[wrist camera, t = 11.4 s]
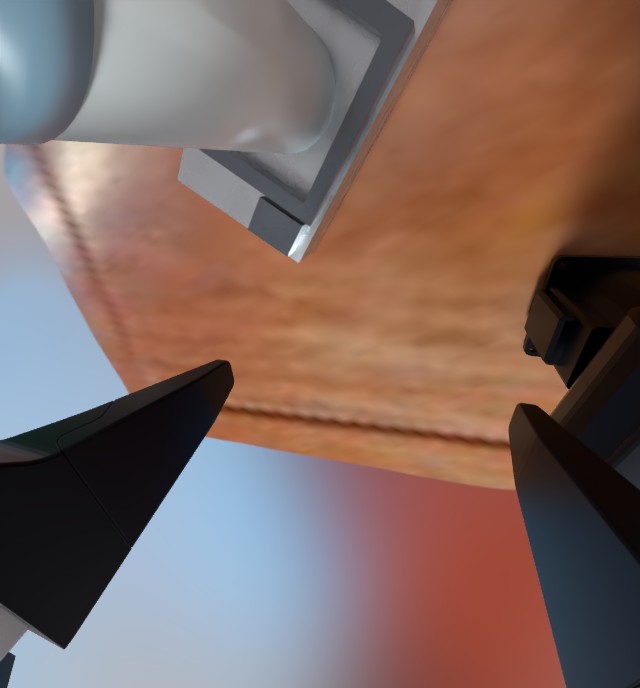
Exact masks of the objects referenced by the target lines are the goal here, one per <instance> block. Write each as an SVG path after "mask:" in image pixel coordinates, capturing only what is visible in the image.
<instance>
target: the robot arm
mask: <svg viewBox="0 0 640 688" xmlns="http://www.w3.org/2000/svg"><path fill="white" fill-rule="evenodd" d="M563 261H567V264H566V266H564V267H563V268H558V265H559V264H560V263H561V262H563ZM525 330H526V332H527V336H526V339H525V342H524V345H523V349H524V351H525V353H526V354H527V355H530V356H538V357H541V358H542V360H543V361H544V362H545V363H546V364H547V365H553V366H554V367H555V369H556V370H557V372H558V374H559V375H560V377H561V379H562V380H563V382H564V384H565V385H566V387H567V388H568V389H569V391H568V392H567V393H566V395H565V396H564V397H563V399H562V400H561V401H560V403H559V404H558V405H557V407H556V408H555V409H554V411H553V412H552V413H551V415H550V416H549V415H548V414H547V413H546V412H544V411H543V410H542V409H541V408H539V407H538V406H536V405H533V404H526V403H519V404H518V405H517V406H516V408H515V411H514V413H513V416H512V419H511V422H510V424H509V440H510V448H511V456H512V465H513V473H514V480H515V486H516V491H517V495H518V499H519V503H520V507H521V511H522V515H523V518H524V523H525V526H526V531H527V534H528V538H529V542H530V546H531V550H532V554H533V558H534V562H535V566H536V570H537V574H538V578H539V582H540V586H541V590H542V593H543V597H544V601H545V605H546V609H547V613H548V617H549V621H550V625H551V629H552V633H553V637H554V641H555V645H556V649H557V653H558V657H559V660H560V664H561V668H562V672H563V676H564V680H565V684H566V688H640V256H604V255H560V256H558V257H556V258H555V259H554V260H553V261H552V263H551V265H550V268H549V271H548V274H547V277H546V280H545V283H544V286H543V289H541V290H539V291H538V292H537V293H536V294H535V297H534V300H533V303H532V306H531V309H530V312H529V315H528V319H527V322H526V325H525ZM532 346H535V349H533V350H530V349H529V348H530V347H532ZM233 385H234V377H233V373H232V368H231V365H230V363H229V361H226V360H215V361H212V362H210V363H207V364H205V365H202V366H200V367H197V368H195V369H192V370H190V371H187V372H185V373H182V374H180V375H177V376H174V377H172V378H169V379H167V380H164V381H162V382H159V383H157V384H154V385H152V386H149V387H147V388H144V389H142V390H139V391H136V392H134V393H131V394H129V395H126V396H124V397H121V398H119V399H116V400H115V401H111V402H108V403H106V404H103V405H101V406H98V407H96V408H93V409H91V410H88V411H85V412H83V413H80V414H77V415H74V416H71V417H69V418H66V419H63V420H60V421H57V422H55V423H51V424H49V425H46V426H43V427H40V428H37V429H34V430H31V431H29V432H26V433H22V434H19V435H17V436H14V437H10V438H7V439H4V440H0V688H7V686H8V682H9V679H10V675H11V671H12V667H13V664H14V660H15V655H13V654H11V653H10V652H9V651H10V650H11V649H12V647H13V646H14V645H15V644H16V643H17V642H18V640H19V639H20V638H21V637H22V636H23V634H24V633H25V632H26V631H27V630H30V631H32V632H34V633H35V634H37V635H39V636H41V637H43V638H44V639H46V640H48V641H50V642H51V643H53V644H55V645H57V646H58V647H60V648H62V649H65V648H66V647H67V646H68V644H69V643H70V642H71V640H72V639H73V637H74V636H75V634H76V633H77V631H78V630H79V628H80V627H81V625H82V624H83V622H84V621H85V619H86V618H87V616H88V615H89V613H90V611H91V610H92V608H93V607H94V605H95V604H96V602H97V601H98V599H99V598H100V596H101V595H102V593H103V592H104V590H105V589H106V587H107V585H108V584H109V582H110V581H111V579H112V578H113V576H114V575H115V573H116V572H117V570H118V569H119V567H120V565H121V564H122V563H123V561H124V559H125V558H126V556H127V555H128V553H129V552H130V550H131V547H133V545H134V544H135V542H136V541H137V539H138V538H139V536H140V535H141V533H142V532H143V530H144V529H145V527H146V526H147V524H148V523H149V521H150V520H151V518H152V517H153V515H154V513H155V512H156V510H157V509H158V507H159V506H160V504H161V503H162V501H163V500H164V498H165V497H166V495H167V494H168V492H169V490H170V489H171V487H172V486H173V485H174V483H175V481H176V480H177V478H178V477H179V475H180V474H181V472H182V471H183V469H184V468H185V466H186V465H187V463H188V462H189V460H190V459H191V457H192V455H193V454H194V452H195V451H196V449H197V448H198V446H199V445H200V443H201V441H202V440H203V439H204V437H205V436H206V434H207V433H208V431H209V430H210V428H211V426H212V425H213V423H214V422H215V420H216V418H217V416H218V414H219V413H220V411H221V409H222V407H223V405H224V403H225V401H226V399H227V397H228V395H229V393H230V391H231V389H232V387H233Z"/></svg>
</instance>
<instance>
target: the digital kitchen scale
mask: <svg viewBox="0 0 640 688" xmlns="http://www.w3.org/2000/svg"><path fill="white" fill-rule="evenodd" d="M287 1H288V2H289V3H290V4H291V5H292V7H293V8H294V9H295V10H296V11H297V12H298V13H299V14H300V16H301V17H302V18H303V19H304V20H305V21H306V22H307V23H308V25H309V26H310V27H311V28H312V29H313V30H314V31H315V32H316V34H317V35H318V36H319V37H320V38H321V40H322V41H323V43H324V44H325V46H326V48H327V50H328V52H329V55H330V58H331V61H332V64H333V69H334V74H335V89H336V90H335V101H334V107H333V111H332V114H331V117H330V120H329V122H328V125H327V126H326V128H325V130H324V132H323V133H322V135H321V136H320V137H319V139H318V140H317V141H316V142H315V143H314V144H313V145H311V146H310V147H308V148H307V149H305V150H303V151H301V152H298V153H293V154H281V153H264V152H247V151H230V150H214V149H197V148H184V150H183V155H182V160H181V165H180V170H179V175H178V180H179V181H180V182H181V183H183V184H184V185H186V186H187V187H189V188H190V189H192V190H193V191H195V192H196V193H197V194H199V195H200V196H202V197H203V198H205V199H206V200H208V201H209V202H211V203H212V204H213V205H215V206H216V207H218V208H219V209H221V210H222V211H224V212H225V213H226V214H228V215H229V216H231V217H232V218H234V219H235V220H237V221H238V222H240V223H241V224H242V225H244V226H245V227H247V228H248V230H249V231H251V232H252V233H254V234H255V235H257V236H258V237H260V238H261V239H262V240H264V241H265V242H267V243H268V244H270V245H271V246H273V247H274V248H276V249H277V250H278V251H280V252H281V253H283V254H284V255H286V256H289V257H290V258H292V259H293V260H295V261H296V262H298V263H300V262H301V261H302V260H304V259H305V258H306V257H308V256H309V255H310V254H312V253H313V252H314V251H315V249H316V247H317V245H318V244H319V242H320V240H321V238H322V236H323V234H324V233H325V231H326V229H327V227H328V225H329V224H330V222H331V220H332V218H333V216H334V214H335V213H336V211H337V209H338V207H339V205H340V204H341V202H342V200H343V198H344V196H345V194H346V193H347V191H348V189H349V187H350V185H351V183H352V182H353V180H354V178H355V176H356V174H357V173H358V171H359V169H360V167H361V165H362V163H363V162H364V160H365V158H366V156H367V154H368V153H369V151H370V149H371V147H372V145H373V143H374V142H375V140H376V138H377V136H378V134H379V133H380V131H381V129H382V127H383V125H384V123H385V122H386V120H387V118H388V116H389V114H390V112H391V111H392V109H393V107H394V105H395V103H396V102H397V100H398V98H399V96H400V94H401V92H402V91H403V89H404V87H405V85H406V83H407V82H408V80H409V78H410V76H411V74H412V72H413V71H414V69H415V67H416V65H417V63H418V62H419V60H420V58H421V56H422V54H423V52H424V51H425V49H426V47H427V45H428V43H429V41H430V40H431V38H432V36H433V34H434V32H435V31H436V29H437V27H438V25H439V23H440V21H441V20H442V18H443V16H444V14H445V12H446V11H447V9H448V7H449V5H450V3H451V1H452V0H287Z"/></svg>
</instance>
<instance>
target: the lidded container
mask: <svg viewBox="0 0 640 688" xmlns="http://www.w3.org/2000/svg"><path fill="white" fill-rule="evenodd" d="M335 90H336V89H335V74H334V69H333V64H332V61H331V58H330V55H329V52H328V50H327V48H326V46H325V44H324V43H323V41H322V40H321V38H320V37H319V36H318V35H317V34H316V32H315V31H314V30H313V29H312V28H311V27H310V26H309V25H308V23H307V22H306V21H305V20H304V19H303V18H302V17H301V16H300V14H299V13H298V12H297V11H296V10H295V9H294V8H293V7H292V5H291V4H290V3H289V2H288V1H287V0H0V144H22V145H34V144H41V143H45V142H48V141H50V140H63V141H79V142H96V143H113V144H130V145H147V146H163V147H180V148H197V149H214V150H230V151H247V152H264V153H281V154H293V153H298V152H301V151H303V150H305V149H307V148H308V147H310V146H311V145H313V144H314V143H315V142H316V141H317V140H318V139H319V137H320V136H321V135H322V133H323V132H324V130H325V128H326V126H327V125H328V122H329V120H330V117H331V114H332V111H333V107H334V101H335Z"/></svg>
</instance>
